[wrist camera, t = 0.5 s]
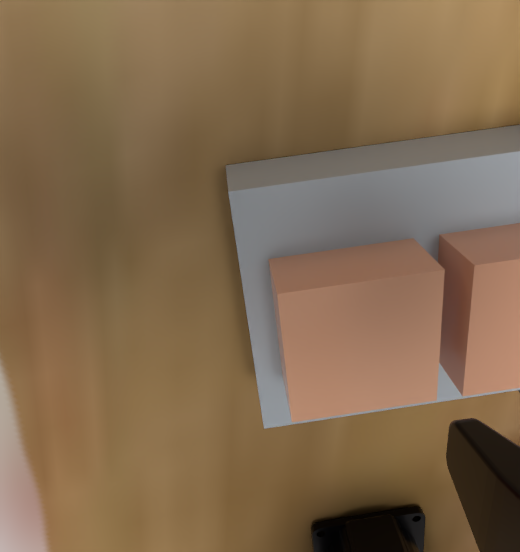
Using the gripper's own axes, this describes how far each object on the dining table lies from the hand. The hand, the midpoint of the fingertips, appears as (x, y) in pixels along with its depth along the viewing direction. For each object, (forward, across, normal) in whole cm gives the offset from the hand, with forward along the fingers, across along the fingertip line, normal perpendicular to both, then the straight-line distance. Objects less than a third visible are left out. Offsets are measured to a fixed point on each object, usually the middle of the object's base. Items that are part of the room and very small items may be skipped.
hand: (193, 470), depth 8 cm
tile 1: (+9, -11, +2) cm, 14 cm away
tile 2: (+9, -5, +2) cm, 10 cm away
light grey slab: (+12, -7, +2) cm, 15 cm away
